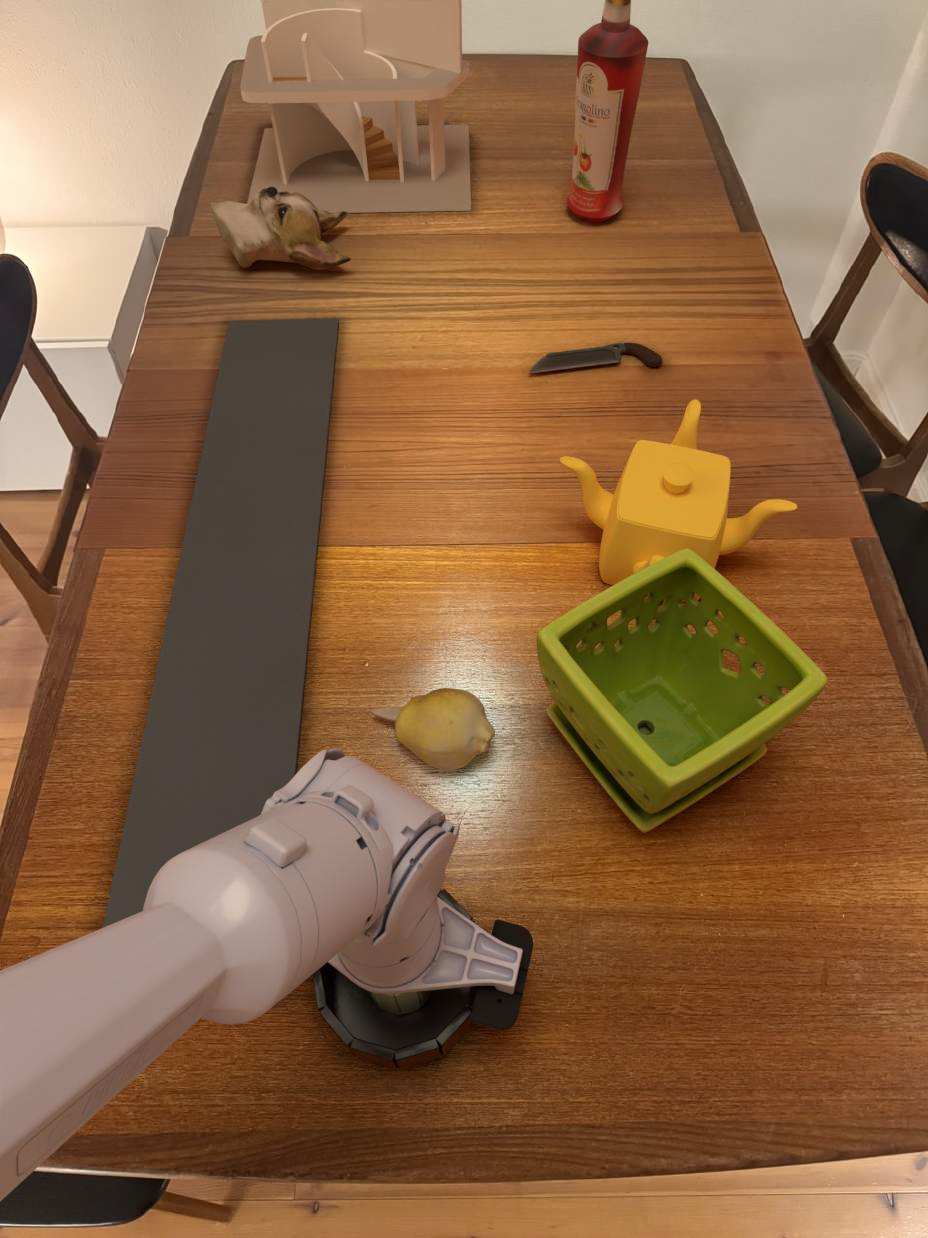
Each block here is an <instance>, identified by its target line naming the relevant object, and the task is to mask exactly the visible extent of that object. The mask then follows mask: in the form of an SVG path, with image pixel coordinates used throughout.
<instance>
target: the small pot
mask: <svg viewBox="0 0 928 1238" xmlns="http://www.w3.org/2000/svg"><path fill="white" fill-rule="evenodd" d="M432 991H433V990H427V991H416V992H406V993H395V994H380V993H374V992H370V991H368V993H369V994H370V996H371V997H372V999H373V1000H374V1002H375V1003H376V1004H377V1006H378V1007H380V1008H381V1009H383V1010H385V1011H387V1012H389V1013H393V1014H407V1013H411V1012H413V1011H415V1010H417V1009H418V1008H420V1007H421V1006H422V1005H423V1004H425V1002H426V1001H427V1000H428V998H429V997H430V995H431V993H432Z"/></svg>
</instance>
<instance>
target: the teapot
mask: <svg viewBox="0 0 928 1238" xmlns="http://www.w3.org/2000/svg"><path fill="white" fill-rule="evenodd" d="M701 412H702V403H701V401H700V400H699V399H692V400H691V401H689V402H688V404H687V406H686V409H685V411H684V414H683V417H682V421H681V423H680V426H679V428H678V430H677V432H676V434H675V436H674V438H673V440H672V441H671V443H666V442H659V441H653V440H648V439H639V440H637V442H636V443H635V445H634V446H633V448H632V451H631V453H630V455H629V457H628V459H627V462H626V464H625V466H624V468H623V471H622V473H621V475H620V477H619V480H618V482H617V485H616V487H615V490H614V491H613V493H611V492H610V491H608V490H606V489H604V488H603V487H602V486H601V485H600V483H599V481H598V478H597V475H596V472H595V470H594V469H593V468H592V467H591V466H590V464H589V463H587V462H586V461H584V460H582V459H580V458H578V457H574V456H569V455H564V456H561V457H559V462H560V463H561V464H562V465H563V466H565V467H566V468H567V469H568V470H570V471H571V472H573V474H574V475H575V476H576V477H577V479H578V482H579V484H580V489H581V495H582V502H583V506H584V509H585V513H586V515H587V516H588V518H589V520H591V522H592V523H594V524H595V526H597V527H599V528H600V529H601V530H602V535H601V541H600V549H599V558H598V571H599V576H600V579H601V581H602V582H603V583H604V584H607V585H610V586H613V585H614V584H616V583H618V582H620V581H621V580H623V579H625V578H627V577H629V576H631V575H633V574H634V573H636V572H638V571H640V570H642V569H644V568H646V567H648V566H650V565H652V564H654V563H656V562H658V561H660V560H662V559H664V558H666V557H667V556H669V555H671V554H674V553H676V552H678V551H680V550H683V549H687V548H688V549H690V550H692V551H693V552H695V553H696V554H697V555H698V556H700V557H701V558H702V559H703V560H705V561H706V562H707V563H708V564H709V565H710V566H712V567H713V568H714V569H715V570H716V566H717V563H718V561H719V558H720V557H719V556H724V555H729V554H732V553H735V552H738V551H739V550H741V549H743V547H744V548H745V546H746V545H747V544H748V543H749V542H750V541H751V540H752V539H753V537H754V536H755V534H757V532H758V530H759V529H760V528H761V526H762V525H763V524H764V523H765V522H766V521H767V520H768V519H770V518H772V517H773V516H775V515H779V514H782V513H783V514H784V513H789V512H793V511H795V510H796V509H798V505H797V503H795V502H793V501H791V500H786V499H780V498H779V499H778V498H777V499H776V498H773V499H767V500H764V501H761V502H759V503H757V504H756V505H755V506H753V507H752V508H751V509H749V511H748V512H747V513H746V514H744V515H742V516H738V517H729V518H728V511H729V500H730V487H731V471H732V470H731V469H732V468H731V467H732V465H731V464H732V463H731V460H730V458H729V457H728V456H725V455H722V454H718V453H714V452H709V451H705V450H700V449H698V445H697V444H698V429H699V423H700V417H701ZM694 598H695V599H696V600H697V601H698V602H699V600H700V599H701V597H700V596H699V595H698V594H697V593H695V595H694ZM682 603H685V601H684V600H682Z"/></svg>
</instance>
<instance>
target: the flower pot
mask: <svg viewBox="0 0 928 1238" xmlns="http://www.w3.org/2000/svg"><path fill="white" fill-rule="evenodd" d="M695 593H697V594H698V595H699V596H700V597H701V598H700V599H701V600H700V601H699V600H698V601H697V600H696V599H695V598H694V595H695ZM682 600H684V601H685V602H682ZM661 601H663V602H662V604H661V605H660V603H661ZM684 604H685V605H684ZM618 612H620V616H619V617H618V618H616V619H614V620H613V621H612V622H610V623H609V624H608V619H609V618H610V617H611V616H613V615H614V614H616V613H618ZM719 613H721V614H722V616H721V615H720V614H719ZM633 620H635V624H634V625H633V626H631V627H629V624H630V622H632V621H633ZM654 620H655V621H654ZM653 621H654V623H653V624H652V626H650V624H651V623H652V622H653ZM709 622H711V623H712V624H713V626H714V627H715V628H716V629H717V632H714V631H713V630H712V628H710V626H709ZM689 626H692V628H693V629H694V630H695V632H696V633H694V634H693V633H692V631H691V630H690V628H689ZM740 638H743V640H745V643H743V642H741V641H740ZM616 643H617V644H616ZM597 645H598V646H597ZM596 646H597V647H596ZM724 651H726V652H729V653H731V654H733V655H735V656H736V657H737V659H738V663H739V672H737V671H734V670H730V669H728V668H726V667H725V661H724V660H725V659H724V658H725V657H724ZM536 653H537V660H538V664H539V665H538V666H539V669H540V672H541V676H542V678H543V682H544V683H545V686H546V688H547V689H548V691H549V694H550V695H551V697H552V699H553V700H554V701H552V702H551V703H550V704H548V705H547V706H546V707H545V714H546V715H547V716H548V718H549V719H550V721H551V722H552V723H553V725H554V726H555V727H556V729H558V731H559V733H560V734H561V735H562V736H563V738H564V739H565V740H566V742H567V743H568V744H569V745H570V747H571V749H572V750H574V752H575V753H576V755H577V756H578V757H579V758H580V760H581V762H582V763H583V764H584V765H585V766H586V768H587V769H588V770H589V771H590V773H591V774H592V776H593V777H595V779H596V780H597V782H598V783H599V784H600V785H601V787H602V788H603V790H604V791H605V792H606V794H608V796H609V797H610V798H611V799H612V801H613V802H614V803H615V804H616V805H617V807H618V808H619V809H620V810H621V811H622V812H623V814H624V815H625V816H626V818H628V819H629V821H630V822H631V823H632V824H633V825H634V826H635V828H636V829H637V830H638V831H639V832H641V833H643V834H644V833H645V834H646V833H648V832H650V831H652V830H654V829H656V828H657V827H659V826H660V825H662V824H664V823H665V822H667V821H669V820H670V819H672V818H674V817H675V816H676V815H678V814H680V813H681V812H683V811H684V810H686V809H687V808H689V807H691V806H693V805H694V804H695V803H697V802H699V801H700V800H702V799H703V798H705V797H706V796H707V795H709V794H711V793H712V792H714V791H715V790H717V789H718V788H719V787H721V786H723V785H724V784H726V783H727V782H728V781H730V780H731V779H733V778H734V777H736V776H738V775H739V774H741V773H742V772H743V771H745V770H747V769H748V768H750V767H751V766H752V765H754V764H755V763H756V762H758V761H759V760H760V759H761V758H763V757H765V755H766V754H767V753H768V747H767V746H766V744H765V743H767V742H768V741H770V740H771V739H772V738H774V737H775V736H776V735H778V734H779V733H780V732H781V731H783V730H784V729H786V728H787V727H788V726H789V725H791V724H792V723H793V722H794V721H796V719H797V718H799V717H800V716H801V715H802V714H803V713H805V712H806V710H807V709H808V708H809V707H810V706H811V705H812V704H813V702H815V700H816V699H817V698H818V697H819V695H820V694H821V693H822V692H823V690H824V689H825V688H826V687H827V684H828V678H827V675H826V674H825V673H824V671H823V670H822V669H821V668H820V667H819V666H818V665H817V664H816V663H815V662H814V661H813V659H811V658H810V657H809V656H808V655H807V653H806V652H804V650H802V649H801V648H800V647H799V646H798V645H797V644H796V643H795V641H793V640H792V639H791V638H790V637H789V636H788V635H787V634H786V633H785V632H784V631H783V630H782V629H781V628H780V627H779V626H777V624H775V622H774V621H773V620H771V619H770V617H768V615H767V614H766V613H764V612H763V611H762V610H761V609H760V608H759V607H758V606H757V605H755V604H754V603H753V602H752V601H751V600H750V599H749V598H748V597H746V596H745V594H743V592H741V591H740V590H739V589H738V588H737V587H735V586H734V585H733V584H732V583H731V582H730V581H729V580H728V579H727V578H726V577H725V576H723V574H721V573H720V572H719V571H718V570H716V568H715V569H714V568H713V567H712V566H710V565H709V564H708V563H707V562H706V561H705V560H703V559H702V558H701V557H700V556H698V555H697V554H696V553H695V552H693V551H692V550H690V549H688V548H687V549H683V550H680V551H678V552H676V553H674V554H671V555H669V556H667V557H666V558H664V559H662V560H660V561H658V562H656V563H654V564H652V565H650V566H648V567H646V568H644V569H642V570H640V571H638V572H636V573H634V574H633V575H631V576H629V577H627V578H625V579H623V580H621V581H620V582H618V583H616V584H614V585H610V586H609V587H607V588H606V589H604V590H602V591H601V592H599V593H597V594H595V595H594V596H592V597H590V598H588V599H587V600H585V601H583V602H581V603H580V604H579V605H577V606H575V607H573V608H572V609H570V610H568V611H567V612H565V613H564V614H562V615H561V616H559V617H557V618H556V619H554V620H552V621H551V622H549V623H548V624H546V625H545V626H543V627H542V628H541V629H540V630H539V631H538V632H537V633H536ZM757 664H759V665H761V667H763V668H764V673H762V672H761V671H760V670H759V669H757V666H756V665H757ZM783 688H784V689H788V690H789V691H788V692H787V693H786V694H784V693H783ZM764 697H766V698H767V699H768V700H769V701H770V702H769V703H768V702H766V700H765V698H764Z"/></svg>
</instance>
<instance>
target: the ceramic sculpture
mask: <svg viewBox="0 0 928 1238" xmlns="http://www.w3.org/2000/svg"><path fill="white" fill-rule="evenodd" d="M210 210H211V213H212V215H213V218H214V221H215V224H216V227H217V230H218V233H219V235H220V238H221V240H222V241H223V242H224V243H225V245H226V246H227V247H228V248H229V250H230V251H231V253H232V254H233V256H234V258H235V259H236V261H237V263H238V265H239V266H241V267H242V268H244V269H246V268H249V267H251V266H252V265H253V264H254V263H255V262H256V261H274V262H281V263H283V262H284V263H296V264H298V265H301V266H304V267H306V268H310V269H312V270H316V271H322V270H326V269H331V268H335V267H338V266H340V265H345V264H346V263H349V262H350V261H351V257H349V256H347V255H344V254H342V253H340V252H339V250H337V249H336V248H335V247H334V246H333V245H332V244H330V243H328V242H325V241H323V240H322V234H324V233H328V232H330V231H331V230H332V229H333V228H335V227H337V226H338V225H339V224H340V223H341V222H343V220H344V219H345V218H347V216H348V213H347V212H345V211H342V212H337V213H329V212H327V211H324V210H319V209H318V208H316V207H315V205H314V204H313V203H312V202H311V201H310V200H309V199H307V198H306V197H305V196H303V195H301V194H299V193H296V192H295V193H289V192H287V191H286V192H279V193H278V191H277V189H276V188H275V187H269V188H265V189H262V190H261V191H260V192H258V193H256V195H255V196H254V199H253V200H252V202H251V203H250V204H247V203H242V202H239V201H232V200H224V201H219V202H218V201H212V202H210Z"/></svg>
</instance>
